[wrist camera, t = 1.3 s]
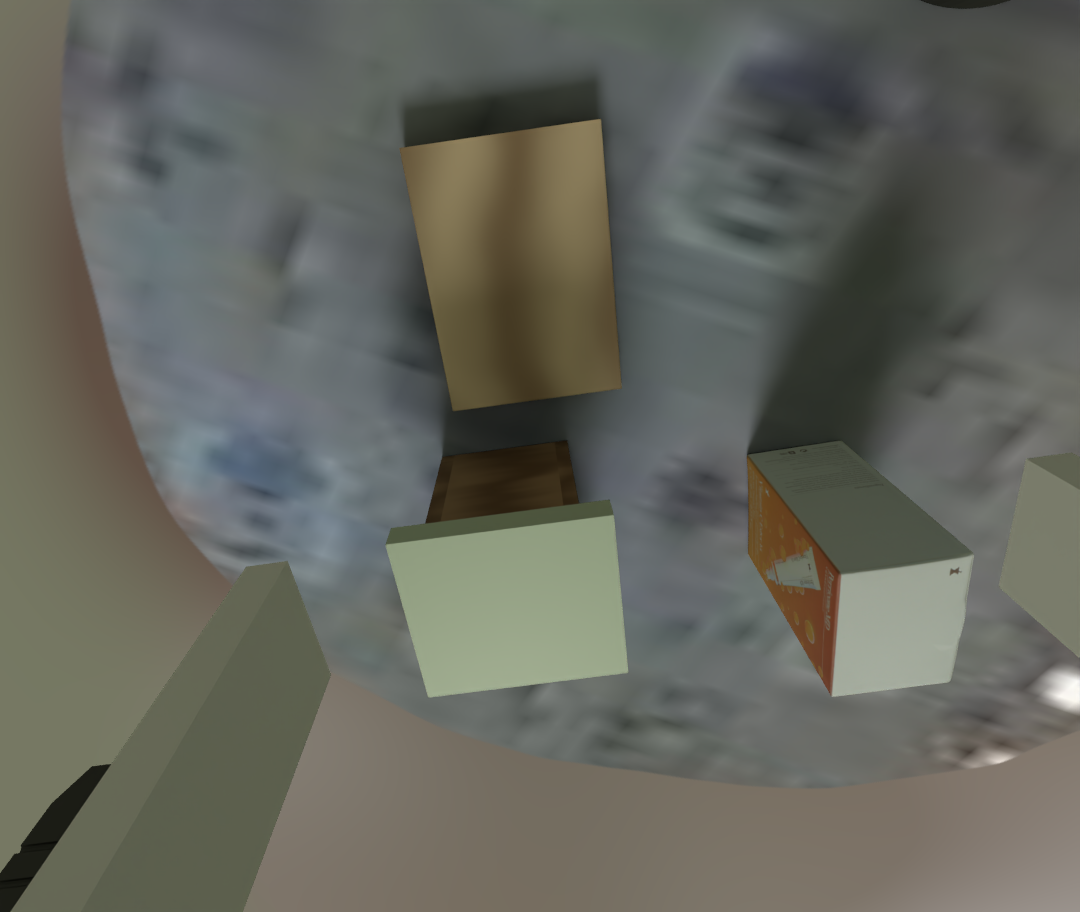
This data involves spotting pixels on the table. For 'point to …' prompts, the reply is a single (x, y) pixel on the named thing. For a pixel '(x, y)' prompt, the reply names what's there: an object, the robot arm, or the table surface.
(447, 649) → the lid
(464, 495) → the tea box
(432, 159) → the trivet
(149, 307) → the table surface
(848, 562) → the small box
